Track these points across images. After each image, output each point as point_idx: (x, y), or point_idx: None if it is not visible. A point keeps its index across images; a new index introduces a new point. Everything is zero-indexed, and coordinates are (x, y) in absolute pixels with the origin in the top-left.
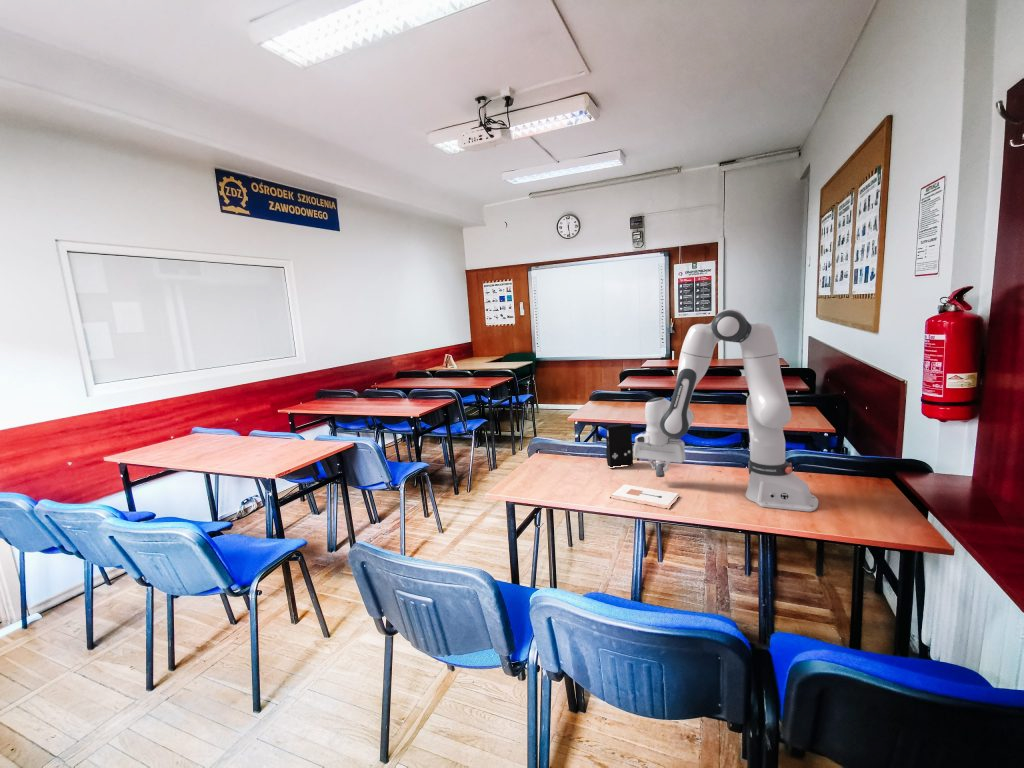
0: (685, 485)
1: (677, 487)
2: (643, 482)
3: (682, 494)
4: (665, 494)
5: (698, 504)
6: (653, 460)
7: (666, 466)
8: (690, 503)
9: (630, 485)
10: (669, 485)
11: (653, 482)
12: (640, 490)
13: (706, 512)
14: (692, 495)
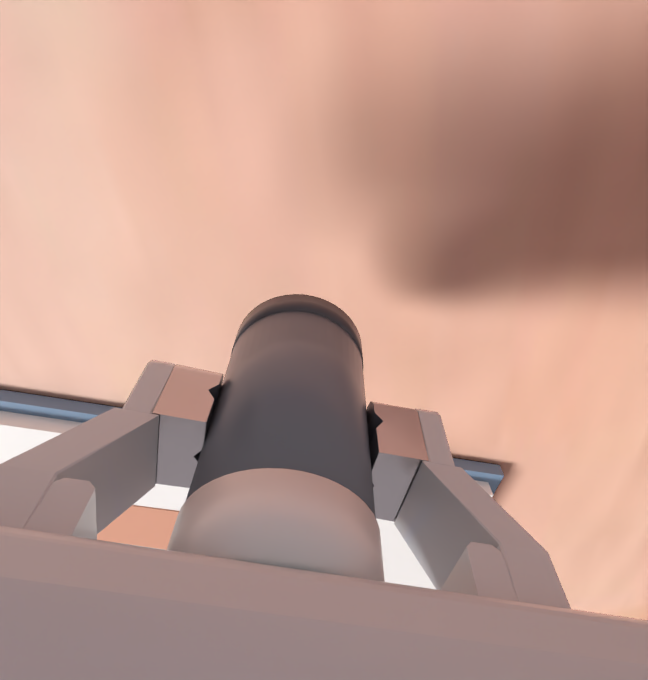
0: (605, 181)
1: (496, 269)
2: (63, 201)
3: (526, 421)
4: (382, 527)
5: (616, 543)
6: (94, 504)
7: (431, 550)
8: (561, 541)
9: (1, 426)
10: (403, 228)
11: (187, 169)
12: (151, 502)
13: (634, 612)
14: (614, 422)
